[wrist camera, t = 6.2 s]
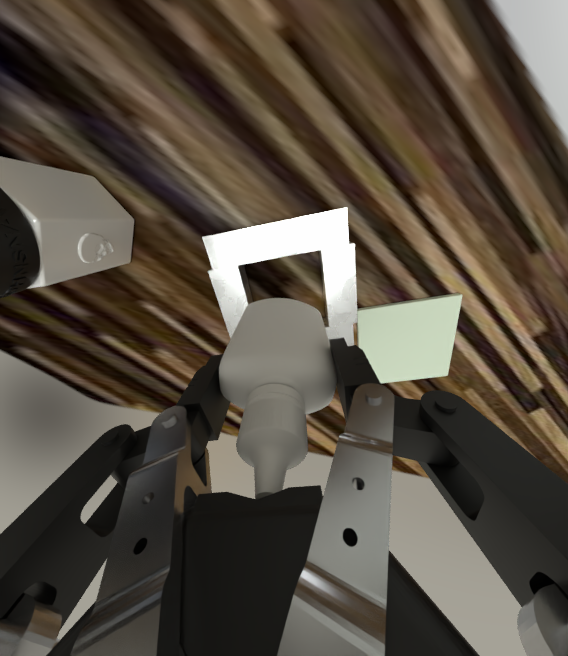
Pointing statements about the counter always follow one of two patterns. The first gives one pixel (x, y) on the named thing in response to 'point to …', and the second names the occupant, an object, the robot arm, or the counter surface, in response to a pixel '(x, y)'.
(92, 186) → the jar
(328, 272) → the collar block
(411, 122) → the counter surface
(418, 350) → the sage mat
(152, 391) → the counter surface
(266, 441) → the eye dropper bottle
